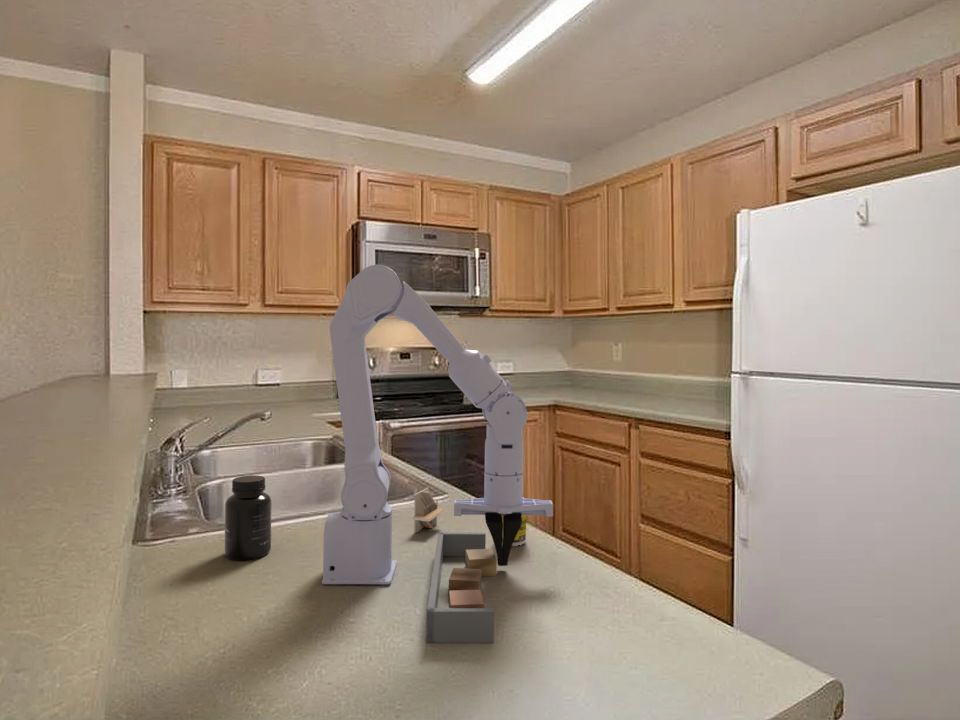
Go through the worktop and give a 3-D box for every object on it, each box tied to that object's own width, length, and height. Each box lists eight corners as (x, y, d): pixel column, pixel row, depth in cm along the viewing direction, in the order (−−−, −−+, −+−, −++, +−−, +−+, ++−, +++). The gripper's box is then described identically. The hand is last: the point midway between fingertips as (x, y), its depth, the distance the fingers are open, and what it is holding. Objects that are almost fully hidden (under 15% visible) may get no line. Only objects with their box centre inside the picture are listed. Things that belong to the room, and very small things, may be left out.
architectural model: (444, 528, 104) (445, 488, 104) (428, 540, 97) (429, 498, 97) (427, 526, 105) (428, 487, 105) (411, 538, 98) (411, 496, 98)
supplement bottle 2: (524, 548, 92) (524, 489, 92) (491, 545, 94) (492, 487, 93) (527, 537, 98) (528, 482, 98) (497, 535, 99) (498, 480, 99)
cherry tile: (450, 625, 67) (450, 605, 67) (448, 610, 71) (449, 590, 71) (483, 624, 67) (484, 603, 67) (480, 609, 71) (480, 589, 71)
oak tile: (468, 576, 81) (469, 559, 81) (465, 566, 85) (465, 549, 85) (496, 575, 81) (496, 558, 81) (491, 565, 85) (491, 548, 85)
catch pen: (426, 642, 62) (426, 611, 62) (438, 554, 89) (438, 532, 89) (493, 642, 63) (494, 611, 63) (485, 554, 90) (485, 532, 90)
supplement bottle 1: (214, 557, 87) (214, 480, 86) (247, 543, 93) (248, 471, 93) (248, 564, 84) (249, 485, 84) (280, 550, 90) (281, 475, 90)
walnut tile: (448, 598, 74) (448, 579, 74) (452, 585, 78) (453, 567, 78) (478, 599, 74) (478, 581, 74) (481, 587, 78) (481, 569, 78)
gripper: (454, 477, 79) (452, 573, 79) (557, 478, 79) (555, 574, 79) (455, 467, 86) (453, 555, 86) (549, 468, 86) (548, 555, 86)
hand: (502, 563), depth 83 cm, fingers closed
